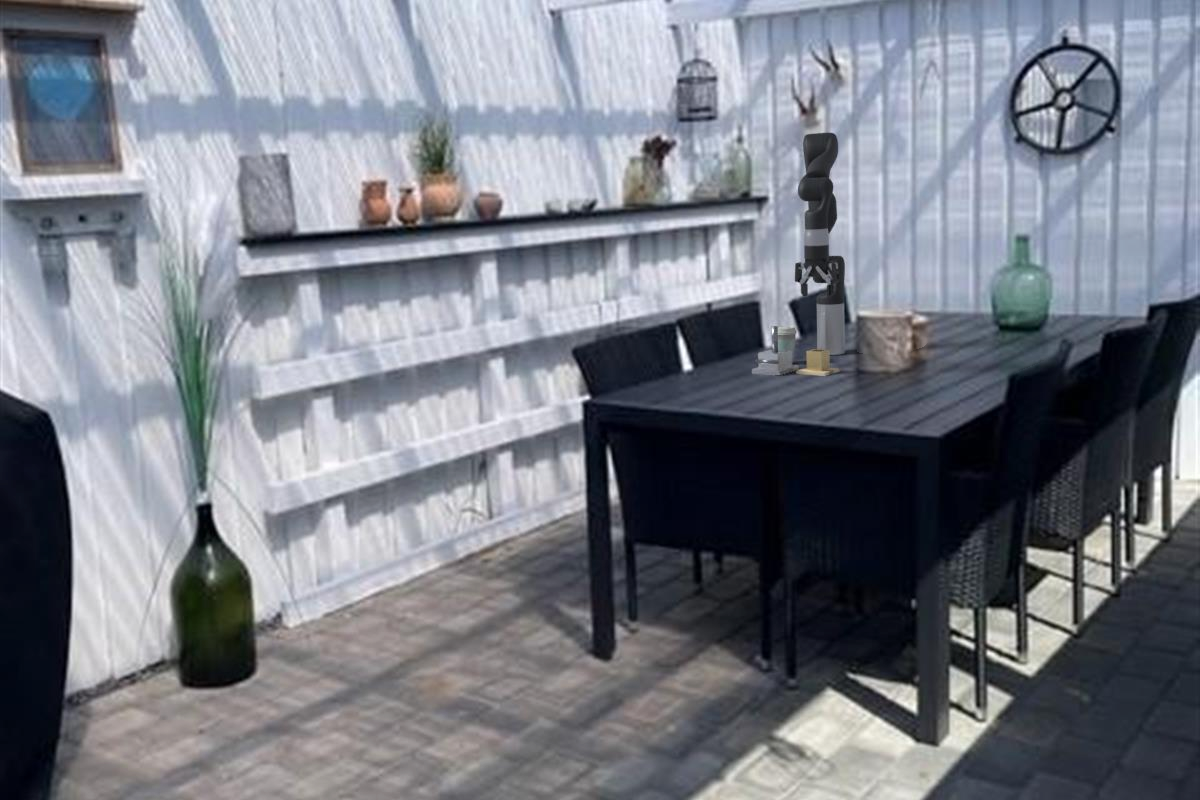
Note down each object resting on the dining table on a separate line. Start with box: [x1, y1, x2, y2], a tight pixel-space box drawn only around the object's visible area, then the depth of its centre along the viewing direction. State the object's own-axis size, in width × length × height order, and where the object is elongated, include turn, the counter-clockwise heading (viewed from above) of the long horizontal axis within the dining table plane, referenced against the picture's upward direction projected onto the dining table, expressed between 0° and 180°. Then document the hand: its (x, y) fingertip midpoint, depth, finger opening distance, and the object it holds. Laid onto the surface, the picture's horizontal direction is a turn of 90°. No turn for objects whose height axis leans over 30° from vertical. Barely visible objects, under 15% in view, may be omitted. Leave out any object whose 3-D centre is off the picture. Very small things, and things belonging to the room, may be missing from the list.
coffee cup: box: [770, 325, 798, 364], centre depth 421 cm, size 9×8×12 cm
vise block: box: [751, 325, 800, 376], centre depth 405 cm, size 12×10×14 cm
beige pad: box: [795, 367, 841, 377], centre depth 401 cm, size 10×10×1 cm
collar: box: [806, 348, 831, 371], centre depth 401 cm, size 5×5×6 cm
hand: (817, 296), depth 397 cm, fingers open, 8 cm apart
